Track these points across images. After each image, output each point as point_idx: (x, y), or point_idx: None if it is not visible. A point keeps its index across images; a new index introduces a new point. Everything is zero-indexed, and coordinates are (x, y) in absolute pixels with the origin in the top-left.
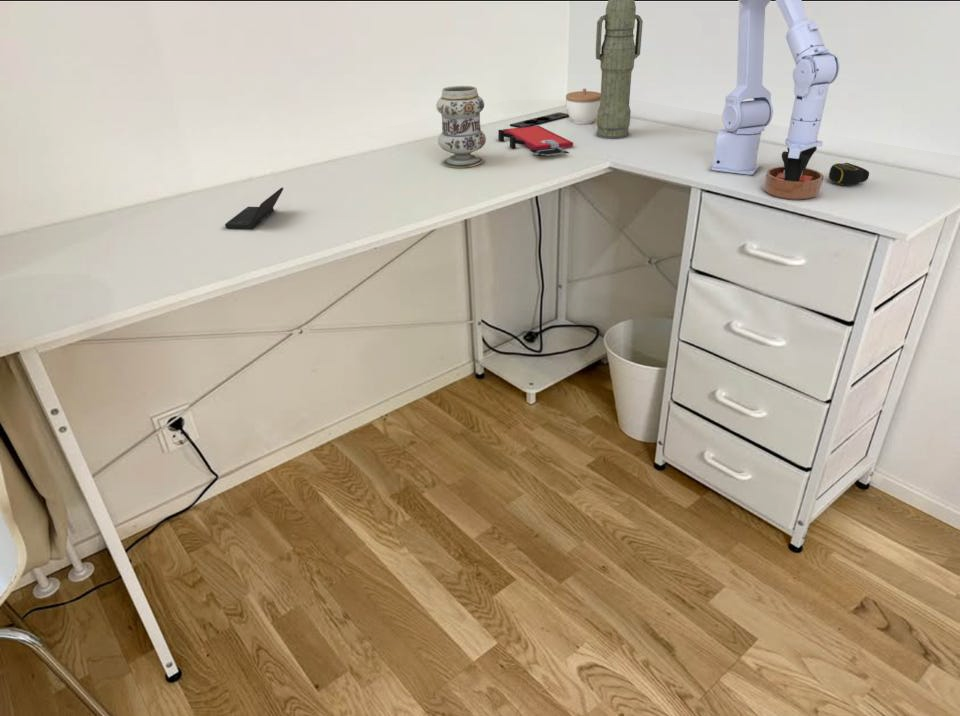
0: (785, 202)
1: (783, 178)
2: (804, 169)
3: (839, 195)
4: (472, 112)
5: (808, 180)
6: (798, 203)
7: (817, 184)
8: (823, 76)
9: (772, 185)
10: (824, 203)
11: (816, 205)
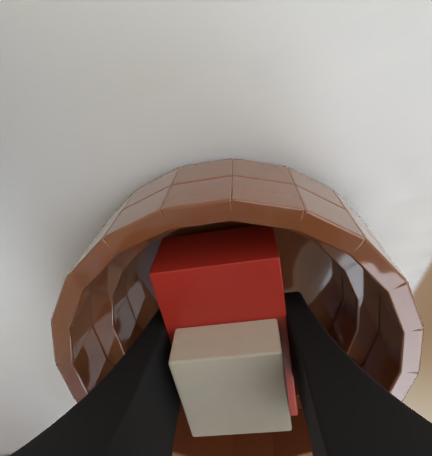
0: (412, 262)
1: (293, 383)
2: (153, 354)
3: (110, 51)
4: None
5: (265, 269)
6: (402, 206)
7: (295, 195)
8: None
9: None
10: (333, 79)
11: (398, 109)
